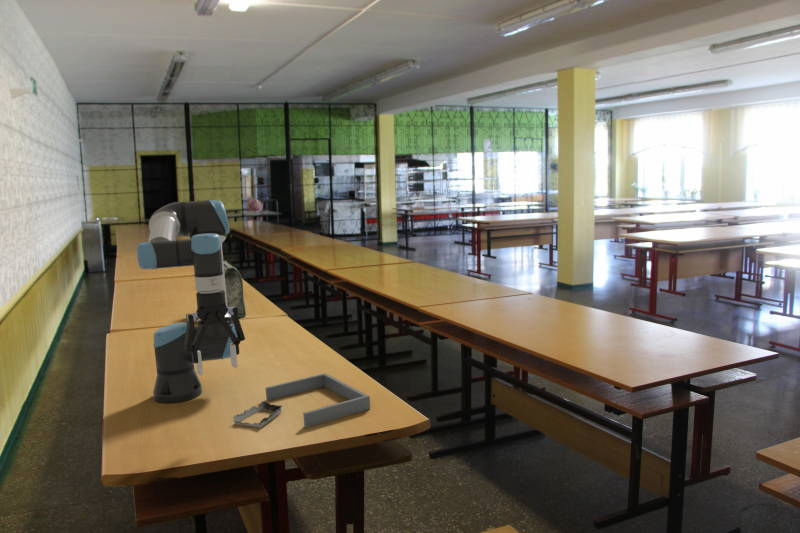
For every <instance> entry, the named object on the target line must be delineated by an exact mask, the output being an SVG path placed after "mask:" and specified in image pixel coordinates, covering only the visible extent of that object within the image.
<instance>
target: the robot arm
mask: <svg viewBox="0 0 800 533" xmlns="http://www.w3.org/2000/svg"><path fill="white" fill-rule="evenodd" d="M148 229H149V236H148V241H145V242H139V243H138V244H137V247H136V254H137V264H138V266H139V268H140V269H141V270H157V269H167V268H168V269H169V268H180V267H193V270H194V271H193V272H194V284H195V291H196V293H195V296H196V297H195V298H196V306H197V309H196V311H195V312H193V313H187V314H185V318H186V321H185V322H177V323H172V324H168V325H165V326H163V327H161V328H159V329H156V331H155V332H154V333H153V348H154V357H155V367H156V378H155V382H154V387H153V390H152V395H153V400H154V401H155V402H157V403H161V404H162V403H163V404H164V403H165V404H173V403H182V402H185V401H189V400H192V399H194V398H196V397H198V396H200V395H201V394H202V393H203V387H202V383H201V381H200V378H199V376H203V375H204V373H203V362H208V361H217V360H224V359H230V364H231V367H233V368H236V369H237V368H238V358H237V356H238V355H240V344H241V342H243V341H245V340H246V337H245V333H244V330H243V328H242V325H241V321H240V317H238V308H236V307H234V306H232V307H227V296H226V285H225V274H224V263H223V261H224V255H223V243H224V242H225V240H226V239H227V238H226V237H227V234H229V233H230V224H229V220H228V216H227V212H226V207H225V205H224V203H223V202H222V201H221V200H220V199H219V200H214V199H213V200H211V199H207V200H196V201H195V200H194V201H191V200H190V201H174V202H172V203H171V202H170V203H168V204H166V205H164V206H162V207H160V208H159V209H157V210H155V211H154V212H153V214H152V215H151V216H150V219H149V221H148ZM177 237H189V239H177ZM176 239H177V240H176ZM228 312H229V313H228ZM197 318H198V319H197ZM195 322H196V323H197V326H195ZM195 365H196V369H195ZM198 375H199V376H198Z"/></svg>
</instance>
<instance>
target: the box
mask: <svg viewBox="0 0 800 533" xmlns="http://www.w3.org/2000/svg"><path fill="white" fill-rule="evenodd" d="M323 387H325V388H326V387H327V388H326V389H328V388H329V389H328V390H330V391H332V392H334V393H335V394H338V395H339V396H341V397H343V398H344V399H347V400H345V401H342V402H337V403H334V404H330V405H326V406H323V407H320V408H316V409H312V410H309V411H306V412H302V414H303V425H304V428H310V427H313V426H317V425H320V424H323V423H327V422H330V421H335V420H337V419H340V418H344V417H347V416H351V415H355V414H357V413H362V412H364V411H368V410H371V398H370V397H371V396H370V395H368V394H366V393H365V392H362V391H361V390H359V389H357V388H354V387H353V386H350V385H349V384H347V383H346V382H343V381H341V380H340V379H337V378H335V377H333V376H331V375H329V374H328V373H326V372H325V373H320V374H316V375H312V376H308V377H303V378H299V379H296V380H291V381H287V382H284V383H279V384H276V385H271V386H266V387H265V397H266V398H265V400H266V401H267V402H268V401H272V400H276V399H280V398H283V397H287V396H291V395H297V394H299V393H304V392H307V390H308V391H311V389H312V390H315V388H316V389H318V388H319V389H320V388H323Z"/></svg>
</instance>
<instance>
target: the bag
mask: <svg viewBox="0 0 800 533" xmlns="http://www.w3.org/2000/svg"><path fill="white" fill-rule="evenodd" d="M223 263H224V274H225V285H226V296H227V307H232V306H234V307H236V308H238V318H245V317H246V316H247V312H246V304H245V294H244V283H243V278H242V275H241V273H240V271H239V270H238V269H237V268H236V267H234V266H232V264H230V263H229V262H227V260H223ZM228 313H229V312H228Z"/></svg>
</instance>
